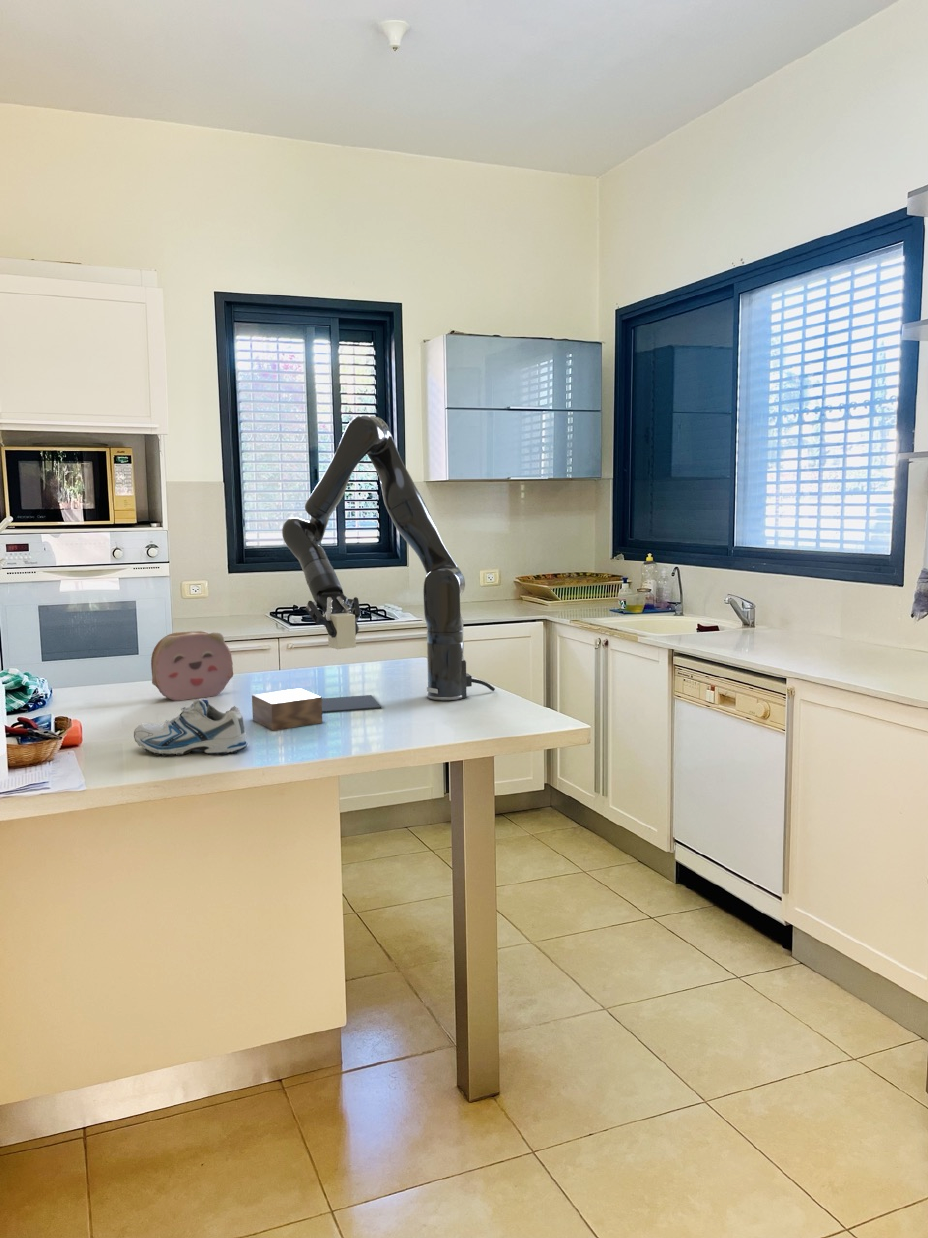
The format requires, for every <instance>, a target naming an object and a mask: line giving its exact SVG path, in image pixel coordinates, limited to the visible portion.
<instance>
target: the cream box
mask: <svg viewBox="0 0 928 1238" xmlns="http://www.w3.org/2000/svg"><path fill="white" fill-rule="evenodd" d="M330 616H331V621H333V624H334V626H335V628H336V631H337V634H336V636H335V637H334V638H332V637H331V636H330V635H329V634H328V633H327V639H328V641H327V642H328V648H331V649H335V650H344V649H353V648H356V647H357V639H356V636H357V634H355V615H353V614H349V613H337V614H331V615H330Z"/></svg>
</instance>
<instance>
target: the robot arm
mask: <svg viewBox="0 0 928 1238" xmlns="http://www.w3.org/2000/svg"><path fill="white" fill-rule="evenodd" d="M400 455H401V454H400V453H399V450H398V448H397V445H396V443H395V440H394V438H393V434H392V432H391V429H390V427H389V426H388V424H387V423H386V422H385V421H384V420H383V419H382V418H381V417H378V416H375V415H358V416H356V417H354V418H353V419H351V420H350V421H349V423H348V424H347V426H346V428H345V430H344V432H343V435H342V437H341V439H340V442H339V444H338V447H337V449H336V451H335V453H334V455H333V457H332V459H331V461H330V463H329V465H328V467H327V469H326V470H325V472H324V474H323V475H322V477H321V479H320V480H319V481H318V483H317V484H316V486H315V487H314V490H313V491H312V493H311V494H310V495H309V498H308V499H306V502H305V505H304V510H305V511H306V513H307V514H308V515H309V516H310V517H311V518H310V520H305V519H302V518H299V517H289V518H288V519H286V520H285V522H284V523H283V525H282V529H281V534H282V539H283V541H284V543H285V545H286V546H287V548H288V550H290V552H291V553H292V555H293V556H294V557H295V558H296V559H297V560H298V562H299V564H300V568H301V569H302V572H303V575H304V578H305V581H306V584H307V586H308V589H309V591H310V594H311V596H312V598H313V601H312V600H308V601H307V604H306V606H305V610H306V612H307V613H308V614H309V616H310V618H311V619H312V620H313V622H314V623H315V625H317V626H320V625H322V626H324V627H325V630H326V631H327V635H328V634H329V635H330V636H331V637H332V638H334V637H335V636H336V634H337V631H336V628H335V626H334V624H333V621H331V616H330V615H331V614H337V613H349V614H353V615H355V634H356V635H357V634H358V632H359V630H360V627H359V624H358V623H357V622H358V621H359V619H360V617H361V615H362V613H361V607H360V602H359V598H358V597H356V596H355V597H353V598H348V597H347V596H346V595H345V594H344V590H343V588H342V587H343V586H342V585H341V583H340V580H339V578H338V576H337V574H336V571H335V568H334V567H333V565H332V564H331V562H330V560H329V558H328V555H327V552H326V551H325V549H324V548H323V546H321V545H320V544H321V543H322V541H323V539H324V536H325V533H326V530H327V527H328V523H329V520H330V518H331V516H332V514H334V512H335V510H336V508H337V507H338V505H339V504H340V502H341V500H342V499H343V497H344V495H345V492H346V490H347V486H348V484H349V481H350V478H351V476H352V474H353V472H354V470H355V469H356V467H357V466H358V464H359V463H360V462H361V461H362V460H363V459H364V458H365V457H366V456H367V457H368V459H369V460H370V461H371V464H372V465H373V467H374V469H375V471H376V473H377V475H378V479H379V482H380V483H379V484H380V487H381V493H382V499H383V503H384V506H385V509H386V510H387V513H388V515H389V517H390V519H391V521H392V523H393V525H394V527H395V528H396V530H397V531H398V533H399V534H400V536H401V537H402V538H403V539H404V541H405V542H406V543H407V544H408V545H409V546H410V548H411V550H413V552H414V553H415V554H416V555H417V556H418V559H419V561H420V562H421V565H422V566H423V568H424V572H425V573H426V576H425V578H424V581H423V592H422V593H423V612H424V613H423V615H424V620H425V624H426V653H427V654H426V655H427V656H426V660H427V662H426V663H427V664H426V665H427V666H426V667H427V686H426V692H427V698H428V699H430V700H434V701H456V700H460V699H467V698H468V697H467V688H468V687H469V688H470V687H472V685H473V684H479V685H481V686H484V687H486V688H488V689H489V690H490V691H492V692H494V691H495V690H496V688H495V687H494V686H493V685H491V684H490V683H488V682H486V681H485V680H481V679H476V678H473V677H472V675H471V674H469V673H467V660H466V659H465V658H464V657H465V656H464V655H465V654H464V651H465V650H464V647H465V646H464V645H465V644H464V643H465V641H464V619H463V617H462V612H461V596H462V595H464V591H465V588H466V579H465V576H464V574H463V573H462V571H461V569H460V568H459V566H458V565H457V563H456V561H455V560H454V559H453V557H452V556H451V554H450V552H449V551H448V550H447V547H446V546H445V544H444V541H443V540H442V538H441V535H440V533H439V530H438V528H437V525H436V524H435V522H434V520H433V518H432V515H431V513H430V511H429V509H428V506H427V505H426V503H425V501H424V499H423V497H422V496H421V493H420V491H419V490H418V488H417V486H416V484H415V482H414V480H413V478H412V476H411V475H410V473H409V471H408V469H407V468H406V466H405V464H404V462H403V460H402V458H401V456H400ZM321 611H322V613H321Z"/></svg>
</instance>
